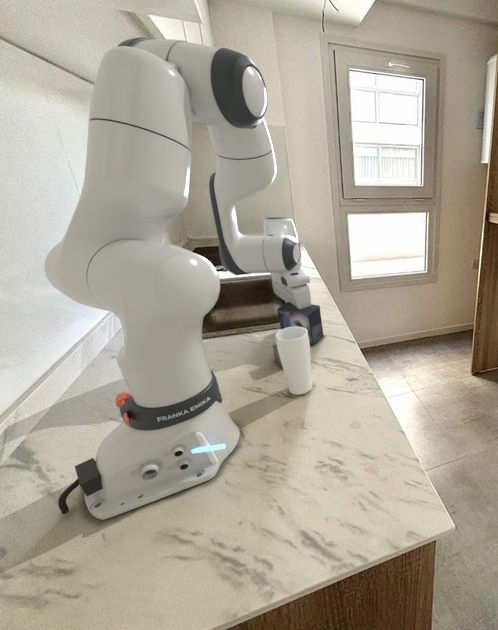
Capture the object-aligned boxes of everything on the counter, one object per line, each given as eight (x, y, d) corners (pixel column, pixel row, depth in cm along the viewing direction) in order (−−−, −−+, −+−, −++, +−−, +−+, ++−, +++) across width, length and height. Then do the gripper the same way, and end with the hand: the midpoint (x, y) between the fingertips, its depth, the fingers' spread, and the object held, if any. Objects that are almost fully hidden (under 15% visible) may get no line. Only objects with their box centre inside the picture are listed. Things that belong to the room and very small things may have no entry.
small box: (281, 340, 98) (275, 308, 94) (295, 330, 104) (289, 299, 99) (312, 346, 95) (307, 314, 91) (324, 336, 101) (320, 304, 96)
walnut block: (283, 369, 85) (280, 352, 83) (275, 361, 88) (272, 345, 86) (301, 361, 88) (299, 345, 86) (293, 354, 92) (291, 338, 89)
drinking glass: (300, 377, 82) (291, 323, 76) (321, 384, 80) (314, 330, 73) (279, 392, 77) (267, 336, 70) (301, 401, 74) (291, 343, 68)
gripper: (263, 266, 103) (271, 306, 109) (290, 284, 89) (297, 329, 95) (283, 262, 107) (289, 301, 113) (312, 279, 93) (317, 322, 99)
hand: (293, 314), depth 104 cm, fingers closed
